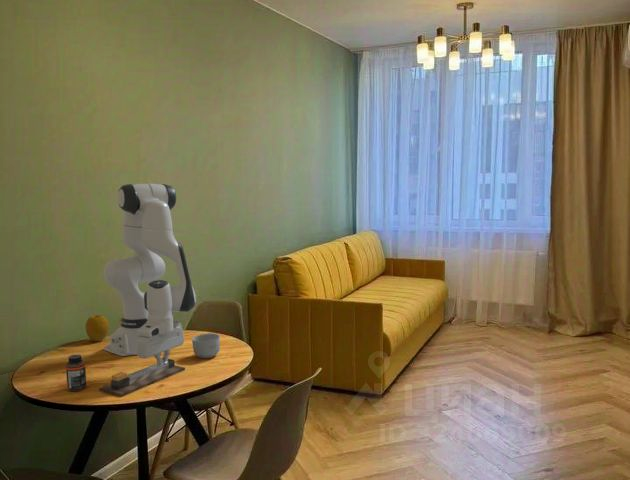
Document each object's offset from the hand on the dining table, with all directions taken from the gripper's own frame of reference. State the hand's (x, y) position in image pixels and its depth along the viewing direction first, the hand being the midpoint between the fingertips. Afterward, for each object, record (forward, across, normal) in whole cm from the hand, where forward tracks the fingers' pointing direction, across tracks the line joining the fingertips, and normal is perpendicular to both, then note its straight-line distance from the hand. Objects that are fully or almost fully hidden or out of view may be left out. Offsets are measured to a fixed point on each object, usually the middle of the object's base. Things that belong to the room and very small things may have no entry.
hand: (162, 363), depth 200 cm
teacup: (+4, -24, +1) cm, 24 cm away
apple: (+3, -18, -57) cm, 60 cm away
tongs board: (+3, +9, 0) cm, 9 cm away
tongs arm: (+1, +6, 0) cm, 6 cm away
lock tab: (0, +19, 0) cm, 19 cm away
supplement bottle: (+4, +25, -14) cm, 29 cm away
